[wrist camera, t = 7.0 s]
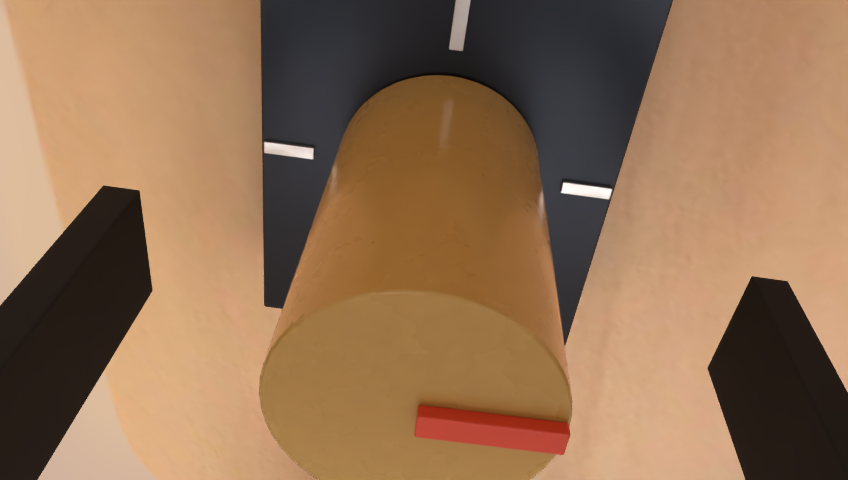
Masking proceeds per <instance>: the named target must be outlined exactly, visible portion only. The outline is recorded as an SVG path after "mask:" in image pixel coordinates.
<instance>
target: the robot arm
mask: <svg viewBox="0 0 848 480" xmlns="http://www.w3.org/2000/svg"><path fill="white" fill-rule="evenodd" d="M151 292H152V283H151V276H150V268H149V260H148V253H147V245H146V237H145V230H144V222H143V214H142V207H141V199H140V191H139V190H132V189H125V188H117V187H110V186H103V187H102V188H101V189H100V190H99V191H98V193H97V194H96V195H95V196H94V197H93V198H92V200H91V201H90V202H89V203H88V204H87V205H86V207H85V208H84V209H83V210H82V211H81V212H80V214H79V215H78V216H77V217H76V218H75V219H74V221H73V222H72V223H71V224H70V225H69V226H68V228H67V229H66V230H65V231H64V232H63V233H62V234H61V236H60V237H59V238H58V239H57V240H56V241H55V243H54V244H53V245H52V246H51V247H50V248H49V250H48V251H47V252H46V253H45V254H44V256H43V257H42V258H41V259H40V260H39V261H38V262H37V264H36V265H35V266H34V267H33V268H32V269H31V271H30V272H29V273H28V274H27V275H26V276H25V278H24V279H23V280H22V281H21V282H20V284H19V285H18V286H17V287H16V288H15V289H14V291H13V292H12V293H11V294H10V295H9V296H8V297H7V299H6V300H5V301H4V302H3V303H2V304H1V306H0V480H37V479H38V478H39V476H40V475H41V473H42V471H43V470H44V468H45V466H46V465H47V463H48V461H49V460H50V458H51V456H52V455H53V453H54V452H55V450H56V448H57V447H58V445H59V443H60V442H61V440H62V438H63V437H64V435H65V434H66V432H67V430H68V429H69V427H70V425H71V424H72V422H73V420H74V419H75V417H76V415H77V414H78V412H79V410H80V409H81V407H82V405H83V404H84V402H85V401H86V399H87V397H88V396H89V394H90V392H91V391H92V389H93V387H94V386H95V384H96V382H97V381H98V379H99V378H100V376H101V374H102V373H103V371H104V369H105V368H106V366H107V365H108V363H109V361H110V360H111V358H112V356H113V355H114V353H115V351H116V350H117V348H118V346H119V345H120V343H121V342H122V340H123V338H124V337H125V335H126V333H127V332H128V330H129V328H130V327H131V325H132V323H133V322H134V320H135V319H136V317H137V315H138V314H139V312H140V310H141V309H142V307H143V305H144V304H145V302H146V300H147V299H148V297H149V296H150V294H151ZM708 371H709V374H710V377H711V380H712V383H713V385H714V388H715V391H716V394H717V397H718V400H719V403H720V406H721V409H722V412H723V415H724V418H725V421H726V424H727V427H728V429H729V432H730V435H731V438H732V441H733V444H734V447H735V450H736V453H737V456H738V459H739V462H740V465H741V468H742V471H743V474H744V476H745V479H746V480H848V392H847V391H846V389H845V387H844V385H843V383H842V381H841V379H840V378H839V376H838V374H837V372H836V370H835V368H834V366H833V365H832V363H831V361H830V359H829V357H828V355H827V354H826V352H825V350H824V348H823V346H822V344H821V342H820V341H819V339H818V337H817V335H816V333H815V331H814V329H813V328H812V326H811V324H810V322H809V320H808V318H807V317H806V315H805V313H804V311H803V309H802V307H801V305H800V304H799V302H798V300H797V298H796V296H795V294H794V292H793V291H792V289H791V287H790V285H789V283H788V281H781V280H774V279H767V278H760V277H753V276H752V277H751V279H750V281H749V283H748V285H747V288H746V290H745V292H744V294H743V296H742V298H741V300H740V302H739V304H738V306H737V308H736V310H735V312H734V314H733V317H732V319H731V321H730V323H729V325H728V327H727V329H726V331H725V333H724V335H723V337H722V339H721V341H720V343H719V345H718V348H717V350H716V352H715V354H714V356H713V358H712V360H711V362H710V364H709V366H708Z"/></svg>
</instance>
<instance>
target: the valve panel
mask: <svg viewBox="0 0 848 480" xmlns="http://www.w3.org/2000/svg"><path fill="white" fill-rule="evenodd" d="M672 2H673V0H261V77H262V159H263V240H264V305H265V306H266V307H274V308H281V309H283V306H284V304H285V301H286V298H287V295H288V292H289V289H290V286H291V283H292V281H293V278H294V275H295V272H296V269H297V266H298V263H299V261H300V258H301V255H302V252H303V249H304V246H305V243H306V241H307V238H308V235H309V232H310V229H311V226H312V223H313V221H314V218H315V215H316V212H317V209H318V206H319V203H320V200H321V198H322V195H323V192H324V189H325V186H326V183H327V180H328V178H329V175H330V172H331V169H332V166H333V163H334V160H335V158H336V155H337V152H338V149H339V146H340V143H341V140H342V138H343V135H344V133H345V130H346V128H347V126H348V124H349V122H350V121H351V119H352V117H353V116H354V114H355V113H356V112H357V111H358V109H359V108H360V107H361V106H362V105H363V104H364V103H365V102H366V101H367V100H368V99H370V98H371V97H372V96H373V95H375V94H376V93H378V92H379V91H381V90H382V89H384V88H386V87H388V86H390V85H392V84H394V83H397V82H400V81H403V80H406V79H409V78H415V77H420V76H431V75H443V76H453V77H459V78H464V79H467V80H470V81H473V82H477V83H479V84H481V85H483V86H486V87H488V88H490V89H492V90H493V91H495V92H496V93H498V94H499V95H501V96H502V97H504V98H505V99H506V100H507V101H508V102H509V103H511V104H512V105H513V106H514V107H515V108H516V110H517V111H518V112H519V113H520V114H521V115H522V117H523V118H524V120H525V121H526V123H527V124H528V126H529V128H530V130H531V132H532V134H533V136H534V139H535V143H536V146H537V150H538V157H539V164H540V171H541V178H542V186H543V193H544V200H545V208H546V215H547V222H548V229H549V237H550V244H551V251H552V259H553V266H554V273H555V280H556V288H557V295H558V302H559V310H560V317H561V324H562V331H563V339H564V346H565V345H566V341H567V338H568V335H569V332H570V329H571V325H572V322H573V319H574V316H575V313H576V309H577V306H578V303H579V300H580V297H581V293H582V290H583V287H584V284H585V281H586V277H587V274H588V271H589V268H590V265H591V261H592V258H593V255H594V252H595V249H596V245H597V242H598V239H599V236H600V233H601V229H602V226H603V223H604V220H605V216H606V213H607V210H608V207H609V204H610V200H611V197H612V194H613V191H614V188H615V184H616V181H617V178H618V175H619V172H620V168H621V165H622V162H623V159H624V156H625V152H626V149H627V146H628V143H629V140H630V136H631V133H632V130H633V127H634V124H635V120H636V117H637V114H638V111H639V107H640V104H641V101H642V98H643V95H644V91H645V88H646V85H647V82H648V79H649V75H650V72H651V69H652V66H653V63H654V59H655V56H656V53H657V50H658V47H659V43H660V40H661V37H662V34H663V31H664V27H665V24H666V21H667V18H668V15H669V11H670V8H671V5H672Z"/></svg>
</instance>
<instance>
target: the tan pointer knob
mask: <svg viewBox="0 0 848 480" xmlns="http://www.w3.org/2000/svg"><path fill="white" fill-rule="evenodd" d="M259 395H260V403H261V409H262V412H263V415H264V418H265V421H266V424H267V426H268V428H269V430H270V432H271V434H272V435H273V437H274V438H275V440H276V441H277V442H278V444H279V445H280V447H281V448H282V449H283V450H284V451H285V452H286V453H287V455H288V456H289V457H290V458H291V459H292V460H293V461H295V462H296V463H297V464H298V465H299V466H300V467H302V468H303V469H304V470H305V471H307V472H308V473H310V474H311V475H313V476H314V477H316V478H317V479H319V480H530V479H531V478H533V477H534V476H535V475H536V474H538V473H539V472H540V471H541V470H542V469H544V468H545V467H546V465H547V464H548V463H549V462H550V461H551V460H552V459H553V458H554V456H555V455H556V454H558V455H563V454H564V452H565V449H566V446H567V443H568V440H569V437H570V430H569V425H570V421H571V416H572V397H571V390H570V382H569V375H568V368H567V361H566V353H565V346H564V339H563V331H562V324H561V317H560V310H559V302H558V295H557V288H556V280H555V273H554V266H553V259H552V251H551V244H550V237H549V229H548V222H547V215H546V208H545V200H544V193H543V186H542V178H541V171H540V164H539V157H538V150H537V146H536V143H535V139H534V136H533V134H532V132H531V130H530V128H529V126H528V124H527V123H526V121H525V120H524V118H523V117H522V115H521V114H520V113H519V112H518V111H517V110H516V108H515V107H514V106H513V105H512V104H511V103H509V102H508V101H507V100H506V99H505V98H504V97H502V96H501V95H499V94H498V93H496V92H495V91H493V90H492V89H490V88H488V87H486V86H483V85H481V84H479V83H477V82H473V81H470V80H467V79H464V78H459V77H453V76H443V75H431V76H420V77H415V78H409V79H406V80H403V81H400V82H397V83H394V84H392V85H390V86H388V87H386V88H384V89H382V90H381V91H379V92H378V93H376V94H375V95H373V96H372V97H371V98H370V99H368V100H367V101H366V102H365V103H364V104H363V105H362V106H361V107H360V108H359V109H358V111H357V112H356V113H355V114H354V116H353V117H352V119H351V121H350V122H349V124H348V126H347V128H346V130H345V133H344V135H343V138H342V140H341V143H340V146H339V149H338V152H337V155H336V158H335V160H334V163H333V166H332V169H331V172H330V175H329V178H328V180H327V183H326V186H325V189H324V192H323V195H322V198H321V200H320V203H319V206H318V209H317V212H316V215H315V218H314V221H313V223H312V226H311V229H310V232H309V235H308V238H307V241H306V243H305V246H304V249H303V252H302V255H301V258H300V261H299V263H298V266H297V269H296V272H295V275H294V278H293V281H292V283H291V286H290V289H289V292H288V295H287V298H286V301H285V304H284V306H283V309H282V312H281V315H280V318H279V321H278V324H277V326H276V329H275V332H274V335H273V338H272V341H271V344H270V346H269V349H268V352H267V355H266V358H265V361H264V364H263V368H262V371H261V375H260V385H259Z"/></svg>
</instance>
